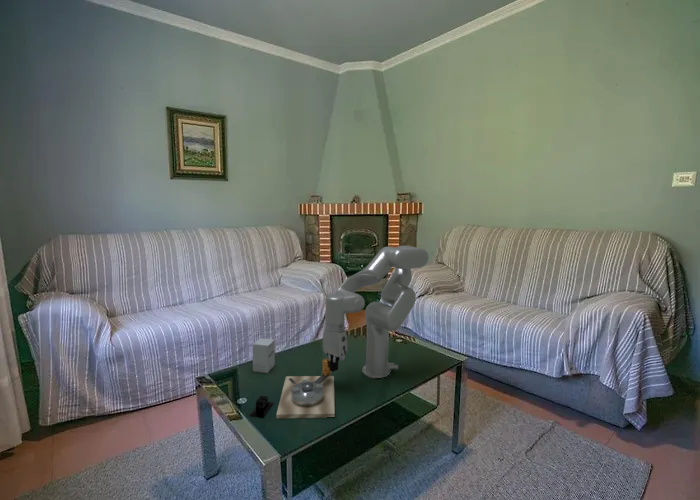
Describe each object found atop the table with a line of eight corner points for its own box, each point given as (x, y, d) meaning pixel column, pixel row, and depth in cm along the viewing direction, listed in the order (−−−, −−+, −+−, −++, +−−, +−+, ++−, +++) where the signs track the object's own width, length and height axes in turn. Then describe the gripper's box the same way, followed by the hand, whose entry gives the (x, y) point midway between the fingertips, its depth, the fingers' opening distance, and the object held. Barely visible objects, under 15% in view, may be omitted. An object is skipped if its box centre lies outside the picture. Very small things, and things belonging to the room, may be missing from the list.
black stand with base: (263, 422, 116) (263, 410, 116) (244, 419, 118) (243, 407, 117) (278, 402, 128) (278, 390, 128) (260, 399, 130) (260, 388, 129)
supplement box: (268, 373, 148) (267, 345, 147) (252, 371, 150) (251, 344, 148) (275, 365, 155) (275, 339, 154) (260, 363, 157) (259, 337, 155)
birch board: (333, 379, 145) (333, 375, 144) (334, 417, 119) (334, 413, 119) (286, 379, 143) (286, 375, 143) (276, 418, 118) (276, 414, 117)
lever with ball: (312, 410, 120) (312, 386, 119) (284, 400, 125) (284, 378, 124) (341, 382, 139) (341, 361, 138) (316, 374, 145) (316, 355, 143)
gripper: (355, 328, 132) (354, 373, 135) (328, 319, 142) (327, 361, 145) (342, 333, 127) (341, 380, 129) (314, 323, 136) (314, 367, 139)
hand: (333, 370), depth 137 cm, fingers closed
